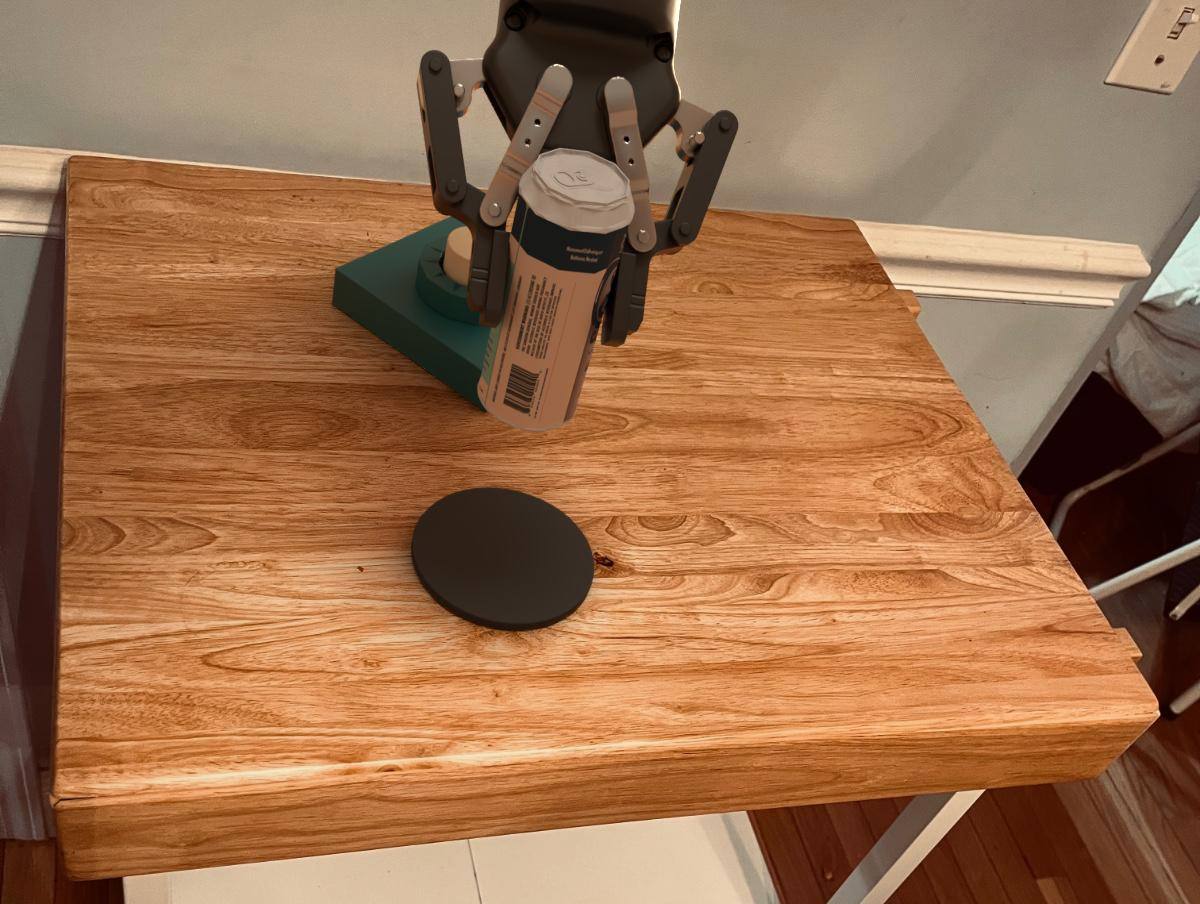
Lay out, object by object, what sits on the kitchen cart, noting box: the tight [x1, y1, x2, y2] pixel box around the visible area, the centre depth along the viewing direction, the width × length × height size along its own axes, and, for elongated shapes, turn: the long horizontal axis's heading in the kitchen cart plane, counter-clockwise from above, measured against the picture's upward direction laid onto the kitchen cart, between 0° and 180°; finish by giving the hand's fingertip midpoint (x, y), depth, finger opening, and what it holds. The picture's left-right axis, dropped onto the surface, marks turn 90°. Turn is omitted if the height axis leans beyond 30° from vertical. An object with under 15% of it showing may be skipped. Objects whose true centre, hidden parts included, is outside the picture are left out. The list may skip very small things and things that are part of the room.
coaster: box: [410, 486, 596, 631], centre depth 64 cm, size 10×10×1 cm
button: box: [443, 226, 472, 287], centre depth 74 cm, size 4×4×2 cm
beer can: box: [477, 148, 635, 432], centre depth 52 cm, size 5×5×12 cm
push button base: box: [331, 216, 491, 413], centre depth 76 cm, size 13×11×4 cm
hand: (552, 332), depth 51 cm, fingers closed on beer can, 4 cm apart
